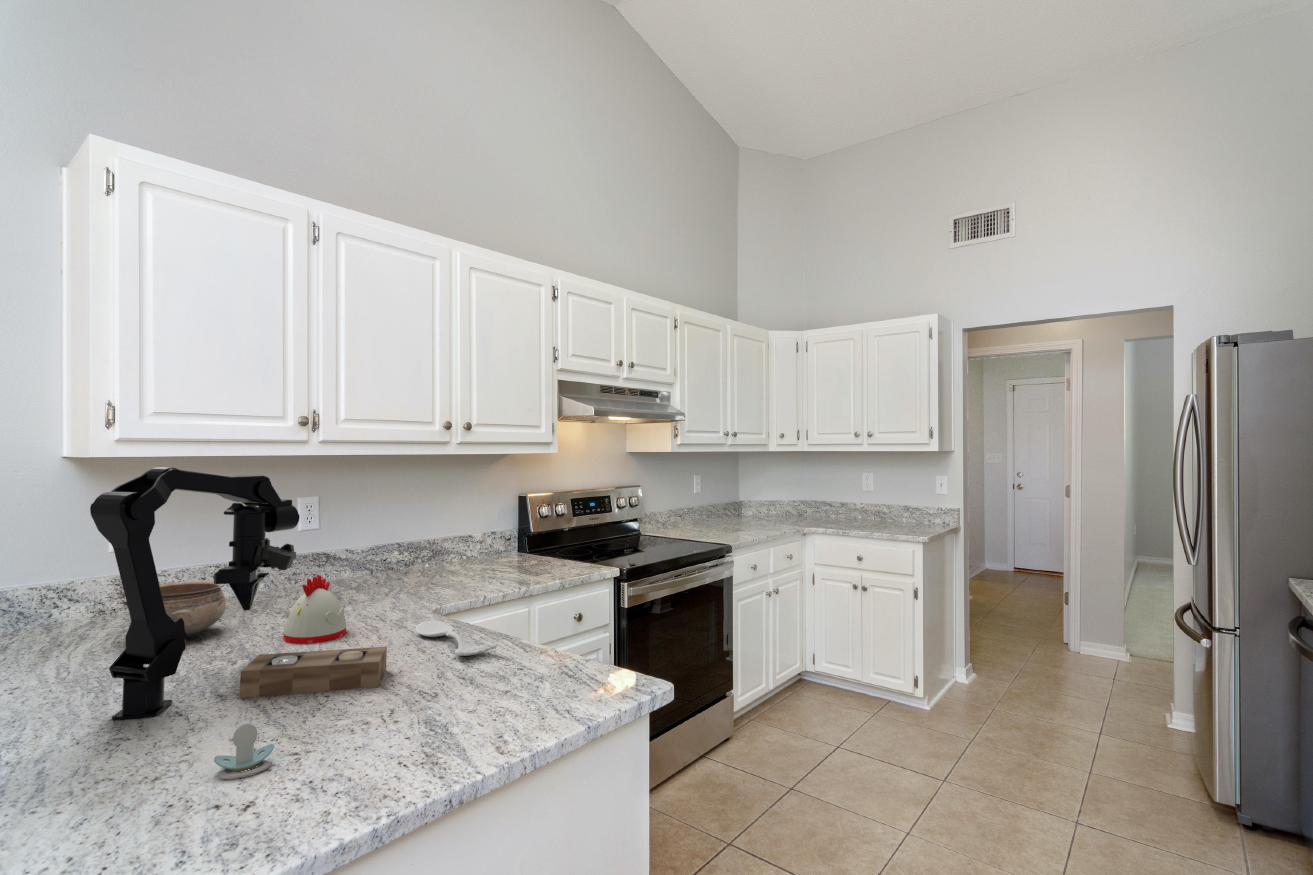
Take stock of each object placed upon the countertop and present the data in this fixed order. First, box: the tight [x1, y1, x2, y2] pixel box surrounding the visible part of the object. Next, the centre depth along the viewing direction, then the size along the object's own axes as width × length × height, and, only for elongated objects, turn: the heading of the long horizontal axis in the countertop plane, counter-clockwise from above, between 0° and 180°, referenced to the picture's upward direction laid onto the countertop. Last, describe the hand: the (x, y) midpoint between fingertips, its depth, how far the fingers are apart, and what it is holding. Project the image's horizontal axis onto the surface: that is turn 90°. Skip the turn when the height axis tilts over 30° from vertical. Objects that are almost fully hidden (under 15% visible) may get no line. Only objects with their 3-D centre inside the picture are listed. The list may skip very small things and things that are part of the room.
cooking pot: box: [129, 579, 227, 639], centre depth 155 cm, size 25×19×12 cm
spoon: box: [414, 620, 498, 657], centre depth 152 cm, size 9×32×4 cm, turn 40°
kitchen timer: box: [283, 574, 347, 645], centre depth 158 cm, size 14×14×15 cm
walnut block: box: [239, 646, 388, 699], centre depth 125 cm, size 10×24×5 cm, turn 105°
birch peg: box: [339, 651, 363, 660], centre depth 127 cm, size 4×4×5 cm
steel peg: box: [272, 656, 298, 665], centre depth 124 cm, size 4×4×5 cm
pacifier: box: [213, 723, 275, 780], centre depth 91 cm, size 7×6×6 cm
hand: (247, 609), depth 131 cm, fingers closed
